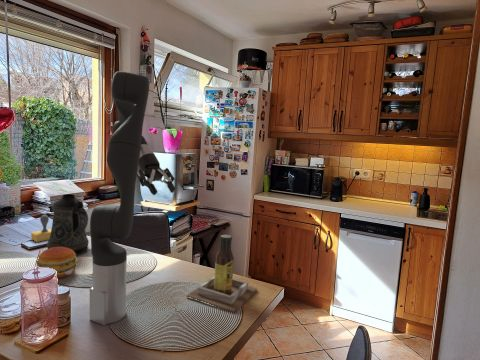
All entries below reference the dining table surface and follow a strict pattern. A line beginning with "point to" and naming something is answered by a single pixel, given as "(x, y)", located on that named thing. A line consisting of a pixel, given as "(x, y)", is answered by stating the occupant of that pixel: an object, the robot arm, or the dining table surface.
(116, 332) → the dining table surface
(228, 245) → the sauce bottle
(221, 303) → the carrier board
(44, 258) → the burger
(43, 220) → the rubber stamp
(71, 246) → the beer stein
